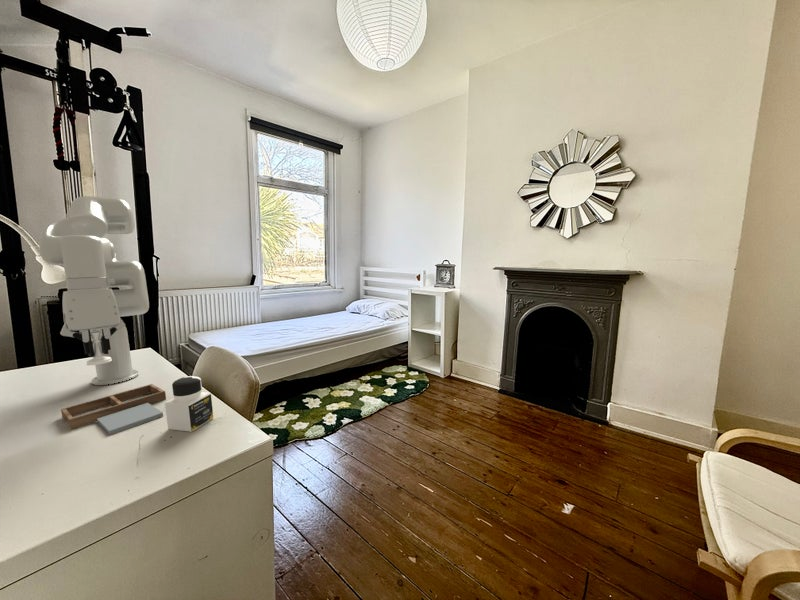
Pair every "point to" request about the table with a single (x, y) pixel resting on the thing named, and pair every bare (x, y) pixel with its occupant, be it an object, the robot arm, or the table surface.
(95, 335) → the chess piece
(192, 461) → the table surface
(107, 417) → the pad
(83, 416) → the bay frame
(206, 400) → the medicine bottle
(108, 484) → the table surface
